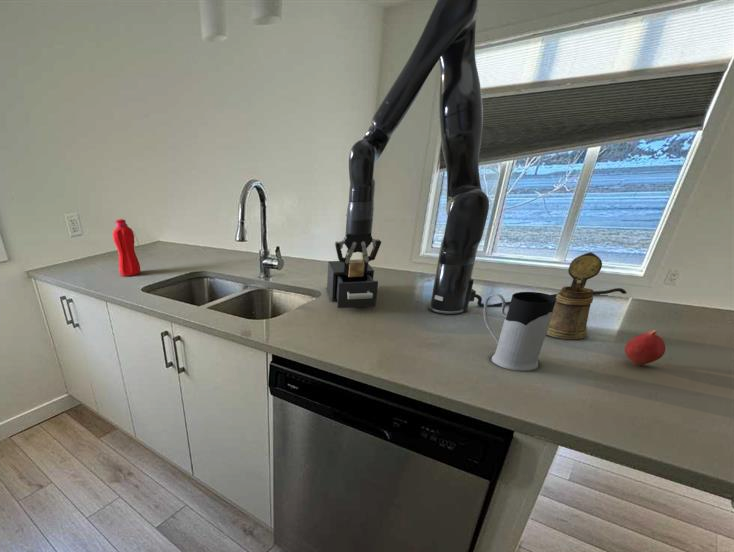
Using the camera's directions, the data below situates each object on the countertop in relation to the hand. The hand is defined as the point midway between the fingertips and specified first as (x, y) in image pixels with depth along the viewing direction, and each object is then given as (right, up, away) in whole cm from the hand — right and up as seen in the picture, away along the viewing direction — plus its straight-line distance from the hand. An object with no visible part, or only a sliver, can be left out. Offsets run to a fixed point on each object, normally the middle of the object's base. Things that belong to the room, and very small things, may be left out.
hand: (355, 274), depth 128 cm
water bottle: (-86, +18, +67) cm, 111 cm away
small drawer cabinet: (+2, -3, +14) cm, 15 cm away
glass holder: (+23, -29, -35) cm, 51 cm away
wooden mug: (+45, -21, -25) cm, 56 cm away
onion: (+46, -31, -43) cm, 70 cm away
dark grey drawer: (+1, -9, +3) cm, 9 cm away
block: (0, 0, 0) cm, 0 cm away
